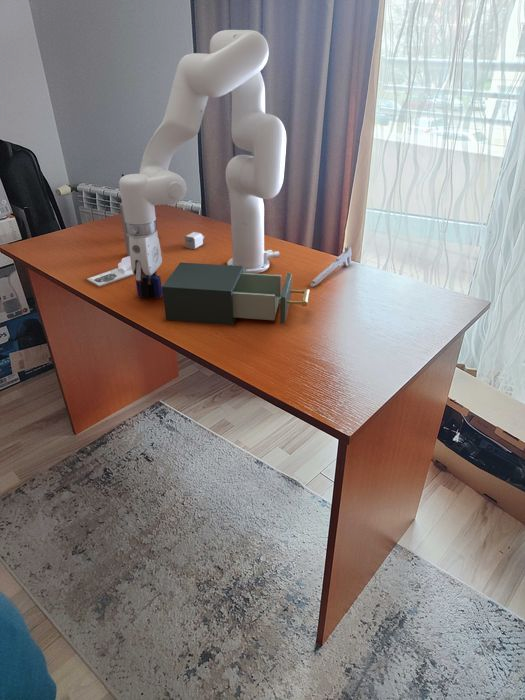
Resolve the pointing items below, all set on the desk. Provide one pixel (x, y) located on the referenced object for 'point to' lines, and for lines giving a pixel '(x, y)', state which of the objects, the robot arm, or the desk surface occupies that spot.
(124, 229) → the vintage mobile phone
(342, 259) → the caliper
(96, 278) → the car cutout
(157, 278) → the card deck
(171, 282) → the cabinet
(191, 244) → the usb wall charger
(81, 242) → the desk surface
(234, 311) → the drawer
